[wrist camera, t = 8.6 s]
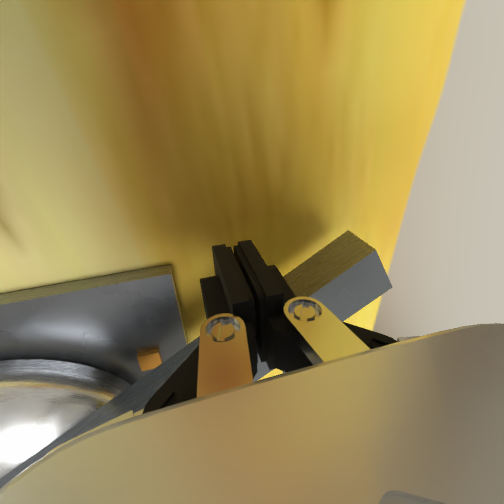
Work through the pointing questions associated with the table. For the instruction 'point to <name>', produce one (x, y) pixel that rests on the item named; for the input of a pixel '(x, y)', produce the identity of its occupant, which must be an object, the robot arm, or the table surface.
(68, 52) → the table surface
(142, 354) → the plate
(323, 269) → the grey disc with handle
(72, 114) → the table surface
